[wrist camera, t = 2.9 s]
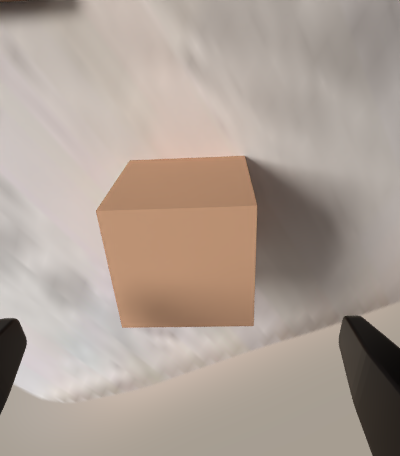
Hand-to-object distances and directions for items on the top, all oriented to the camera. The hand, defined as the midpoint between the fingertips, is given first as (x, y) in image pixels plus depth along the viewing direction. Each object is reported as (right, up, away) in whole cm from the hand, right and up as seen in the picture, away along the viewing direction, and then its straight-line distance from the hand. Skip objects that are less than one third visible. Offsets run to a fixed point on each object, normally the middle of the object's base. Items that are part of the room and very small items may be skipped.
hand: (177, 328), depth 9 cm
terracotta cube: (0, +4, +7) cm, 8 cm away
